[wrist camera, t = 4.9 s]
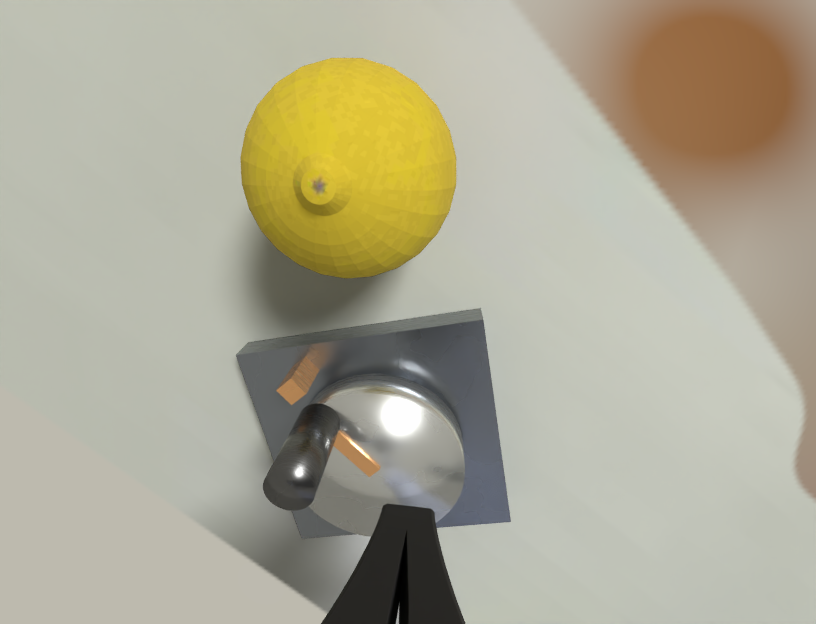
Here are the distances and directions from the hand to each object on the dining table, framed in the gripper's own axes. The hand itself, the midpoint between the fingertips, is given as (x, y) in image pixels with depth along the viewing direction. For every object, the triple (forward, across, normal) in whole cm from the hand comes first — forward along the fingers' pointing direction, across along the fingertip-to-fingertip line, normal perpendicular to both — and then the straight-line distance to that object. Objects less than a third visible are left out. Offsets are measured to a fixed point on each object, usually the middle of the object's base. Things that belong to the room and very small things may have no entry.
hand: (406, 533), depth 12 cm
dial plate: (+8, +1, +2) cm, 8 cm away
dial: (+6, +1, +2) cm, 7 cm away
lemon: (+8, +2, -9) cm, 12 cm away
